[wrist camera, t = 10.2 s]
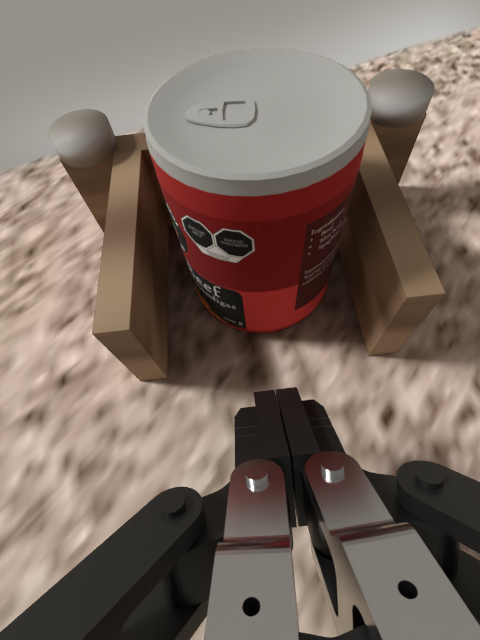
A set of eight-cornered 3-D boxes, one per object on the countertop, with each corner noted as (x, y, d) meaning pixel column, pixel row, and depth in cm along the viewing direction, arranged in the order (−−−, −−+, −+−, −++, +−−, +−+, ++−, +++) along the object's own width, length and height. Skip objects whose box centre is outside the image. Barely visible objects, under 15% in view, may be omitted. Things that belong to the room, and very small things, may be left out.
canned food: (187, 251, 23) (129, 70, 14) (301, 222, 24) (324, 27, 14) (211, 353, 20) (156, 207, 10) (346, 317, 20) (417, 143, 11)
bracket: (453, 346, 19) (547, 265, 13) (85, 387, 19) (-5, 329, 13) (383, 176, 25) (422, 65, 19) (106, 210, 26) (53, 113, 19)
